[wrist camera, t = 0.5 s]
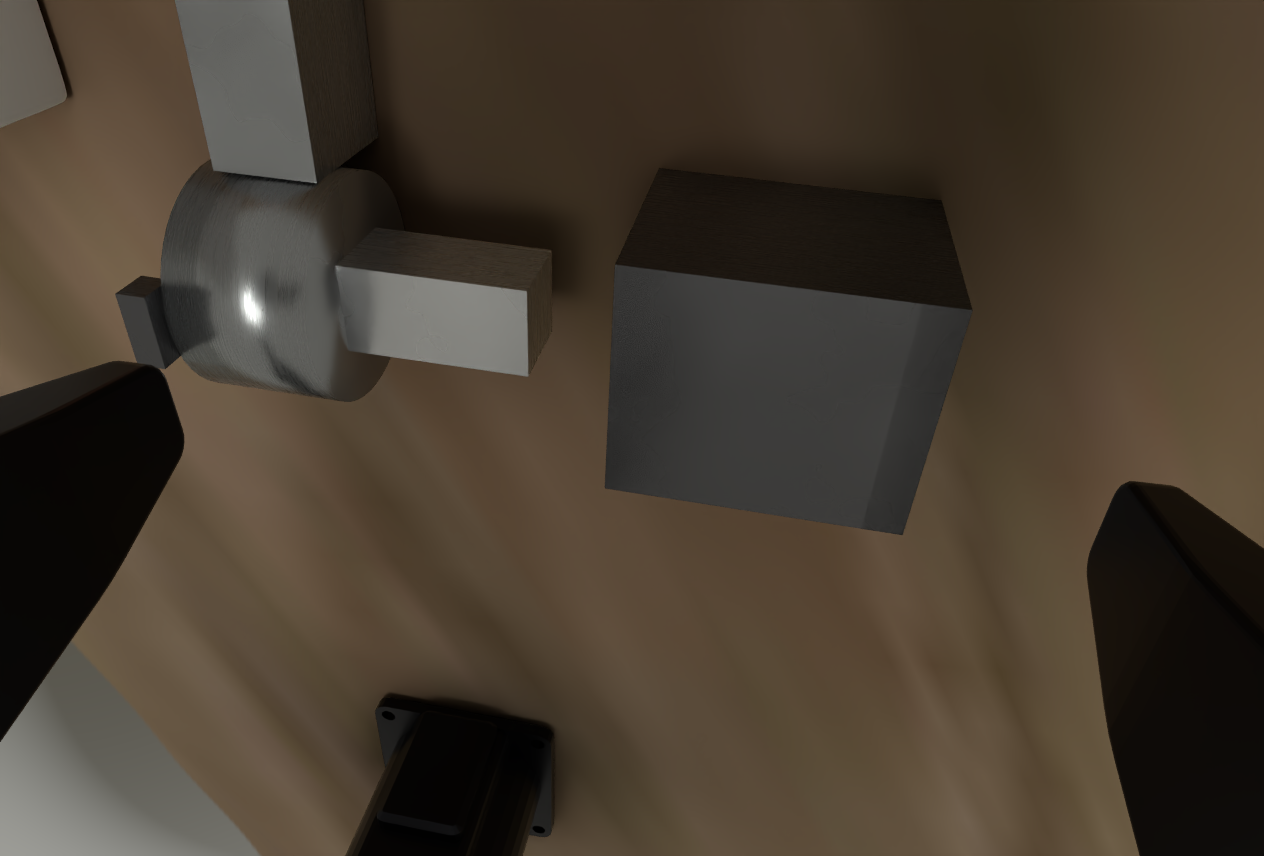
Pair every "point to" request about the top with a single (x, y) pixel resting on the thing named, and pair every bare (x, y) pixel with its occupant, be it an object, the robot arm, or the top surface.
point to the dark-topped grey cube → (782, 347)
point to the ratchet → (314, 227)
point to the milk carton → (26, 63)
